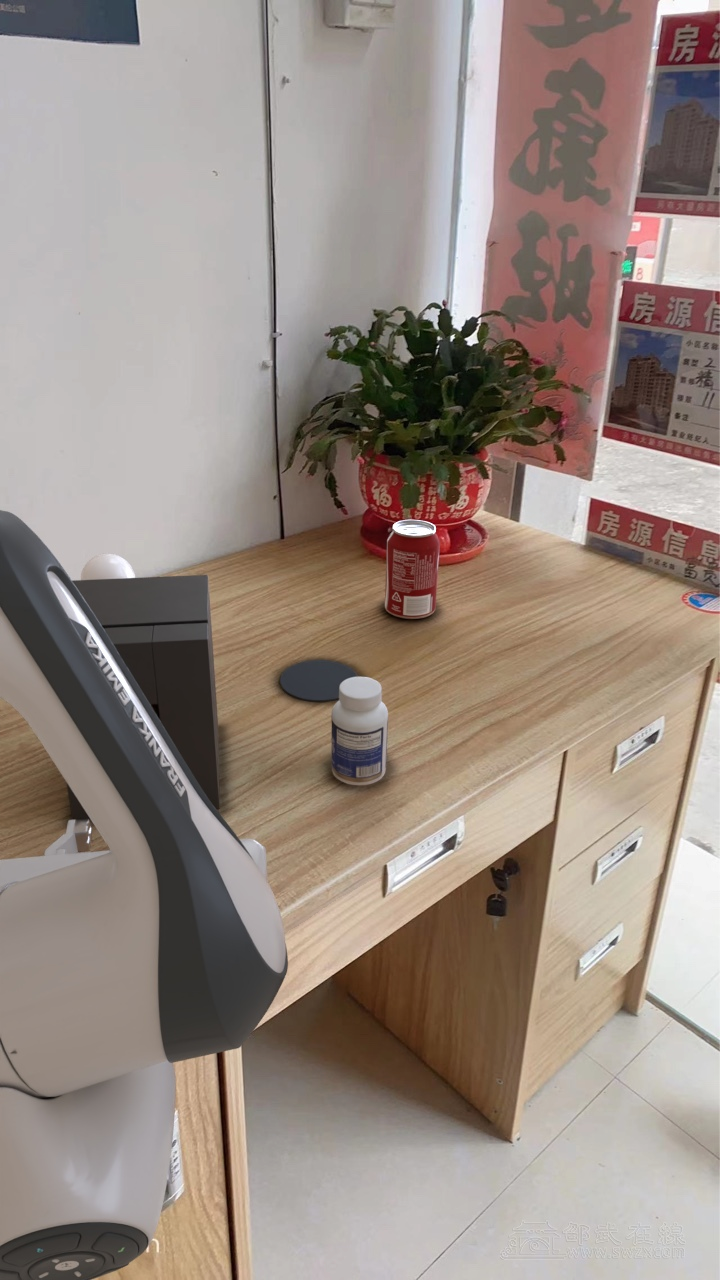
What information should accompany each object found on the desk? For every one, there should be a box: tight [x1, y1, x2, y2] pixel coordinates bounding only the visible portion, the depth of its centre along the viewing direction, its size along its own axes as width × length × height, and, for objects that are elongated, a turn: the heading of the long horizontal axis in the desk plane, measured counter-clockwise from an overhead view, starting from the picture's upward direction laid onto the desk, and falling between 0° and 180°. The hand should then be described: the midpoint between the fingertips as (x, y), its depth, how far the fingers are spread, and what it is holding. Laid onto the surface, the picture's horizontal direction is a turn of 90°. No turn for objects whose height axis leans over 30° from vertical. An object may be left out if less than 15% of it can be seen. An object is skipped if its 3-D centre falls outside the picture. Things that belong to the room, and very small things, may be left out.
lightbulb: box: [80, 553, 136, 580], centre depth 107 cm, size 6×6×11 cm
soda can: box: [384, 519, 441, 620], centre depth 115 cm, size 7×7×12 cm
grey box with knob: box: [65, 574, 221, 820], centre depth 81 cm, size 13×13×18 cm
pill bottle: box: [330, 676, 389, 786], centre depth 84 cm, size 5×5×10 cm
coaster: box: [279, 659, 359, 703], centre depth 101 cm, size 9×9×1 cm
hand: (123, 822), depth 64 cm, fingers open, 5 cm apart
